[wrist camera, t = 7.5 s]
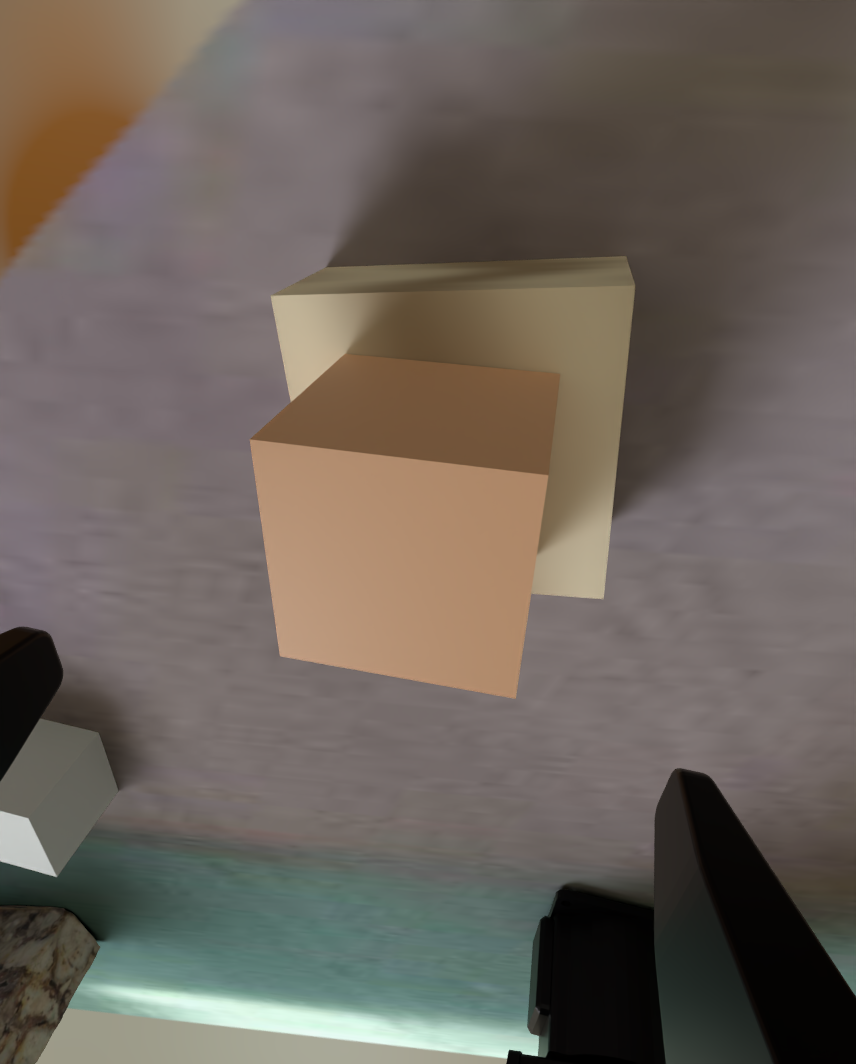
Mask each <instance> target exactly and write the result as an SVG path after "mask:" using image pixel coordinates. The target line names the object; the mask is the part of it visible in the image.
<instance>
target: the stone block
mask: <svg viewBox="0 0 856 1064" xmlns="http://www.w3.org/2000/svg"><path fill="white" fill-rule="evenodd" d="M99 949H100V946H99V945H98V944H97V942H96V940H95V939H94V937H93V936H92V935H91V934H90V933H89V932H88V931H87V930H86V928H85V927H84V926H83V925H82V924H81V923H80V921H79V920H78V919H77V917H76V916H75V915H74V914H73V913H71V912H68V911H66V910H65V909H64V908H57V907H36V906H17V905H14V906H0V1064H35V1063H36V1062H37V1060H38V1059H39V1057H40V1055H41V1053H42V1052H43V1050H44V1049H45V1047H46V1045H47V1043H48V1041H49V1039H50V1037H51V1036H52V1033H53V1032H54V1030H55V1029H56V1027H57V1026H58V1024H59V1023H60V1021H61V1019H62V1017H63V1014H64V1013H65V1011H66V1009H67V1007H68V1005H69V1002H70V1000H71V998H72V997H73V995H74V993H75V991H76V990H77V988H78V986H79V984H80V983H81V981H82V979H83V977H84V976H85V974H86V972H87V971H88V969H89V968H90V966H91V965H92V963H93V961H94V959H95V957H96V955H97V952H98V950H99Z"/></svg>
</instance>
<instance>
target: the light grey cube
mask: <svg viewBox="0 0 856 1064" xmlns="http://www.w3.org/2000/svg"><path fill="white" fill-rule="evenodd" d="M117 793H118V788H117V785H116V782H115V779H114V776H113V773H112V770H111V767H110V764H109V761H108V758H107V756H106V753H105V750H104V747H103V744H102V741H101V738H100V735H99V732H94V731H90V730H86V729H82V728H78V727H74V726H69V725H65V724H61V723H57V722H53V721H49V720H44V719H39V721H38V723H37V724H36V726H35V728H34V729H33V731H32V732H31V734H30V736H29V737H28V739H27V741H26V742H25V744H24V745H23V747H22V749H21V750H20V752H19V754H18V755H17V757H16V758H15V760H14V762H13V763H12V765H11V766H10V768H9V769H8V771H7V773H6V774H5V776H4V777H3V779H2V780H1V781H0V861H1V862H5V863H8V864H12V865H15V866H19V867H23V868H26V869H30V870H33V871H37V872H40V873H44V874H48V875H51V876H55V877H57V876H58V875H59V874H60V872H61V871H62V869H63V868H64V867H65V865H66V864H67V862H68V861H69V860H70V858H71V857H72V855H73V854H74V853H75V851H76V850H77V848H78V847H79V846H80V844H81V843H82V841H83V840H84V839H85V837H86V836H87V834H88V833H89V832H90V830H91V829H92V828H93V826H94V825H95V823H96V822H97V821H98V819H99V818H100V816H101V815H102V814H103V812H104V811H105V809H106V808H107V807H108V805H109V804H110V802H111V801H112V800H113V798H114V797H115V795H116V794H117Z"/></svg>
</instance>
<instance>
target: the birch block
mask: <svg viewBox="0 0 856 1064" xmlns="http://www.w3.org/2000/svg"><path fill="white" fill-rule="evenodd" d="M634 294H635V283H634V280H633V277H632V273H631V270H630V267H629V264H628V261H627V258H626V256H617V257H590V258H563V259H537V260H510V261H483V262H456V263H430V264H403V265H376V266H349V267H326V268H324V269H322V270H320V271H318V272H316V273H314V274H312V275H310V276H308V277H306V278H304V279H302V280H300V281H299V282H297V283H295V284H293V285H291V286H289V287H287V288H285V289H283V290H281V291H279V292H277V293H275V294H273V295H271V300H272V305H273V310H274V315H275V321H276V326H277V331H278V337H279V342H280V347H281V352H282V358H283V363H284V368H285V373H286V379H287V384H288V389H289V394H290V400H291V402H292V401H293V400H294V399H295V398H296V397H297V396H299V395H300V394H301V393H302V392H303V391H304V390H305V389H306V388H307V387H309V386H310V385H311V384H312V383H313V382H314V381H315V380H316V379H317V378H319V377H320V376H321V375H322V374H323V373H324V372H325V371H326V370H327V369H329V368H330V367H331V366H332V365H333V364H334V363H335V362H336V361H337V360H339V359H340V358H341V357H342V356H343V355H344V354H354V355H364V356H375V357H386V358H396V359H407V360H418V361H428V362H439V363H450V364H460V365H471V366H482V367H492V368H503V369H514V370H524V371H535V372H546V373H556V374H560V381H559V390H558V398H557V407H556V415H555V424H554V432H553V441H552V449H551V458H550V466H549V475H548V482H547V489H546V495H545V502H544V509H543V516H542V523H541V529H540V536H539V543H538V550H537V557H536V563H535V570H534V577H533V584H532V591H531V594H543V595H556V596H569V597H583V598H596V599H603V598H604V588H605V579H606V569H607V559H608V549H609V539H610V530H611V520H612V510H613V500H614V490H615V480H616V471H617V461H618V451H619V441H620V431H621V422H622V412H623V402H624V392H625V382H626V372H627V363H628V353H629V343H630V333H631V323H632V314H633V304H634Z"/></svg>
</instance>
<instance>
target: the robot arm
mask: <svg viewBox="0 0 856 1064" xmlns="http://www.w3.org/2000/svg"><path fill="white" fill-rule="evenodd" d="M62 679H63V668H62V665H61V662H60V659H59V656H58V654H57V651H56V648H55V645H54V642H53V640H52V637H51V636H50V634H48V633H47V632H46V631H43V630H38V629H34V628H29V627H17V628H14V629H11V630H9V631H7V632H4V633H2V634H0V781H1V780H2V779H3V777H4V776H5V774H6V773H7V771H8V769H9V768H10V766H11V765H12V763H13V762H14V760H15V758H16V757H17V755H18V754H19V752H20V750H21V749H22V747H23V745H24V744H25V742H26V741H27V739H28V737H29V736H30V734H31V732H32V731H33V729H34V728H35V726H36V724H37V723H38V721H39V719H40V718H41V716H42V715H43V713H44V711H45V710H46V708H47V706H48V705H49V703H50V701H51V700H52V698H53V697H54V695H55V693H56V692H57V690H58V688H59V687H60V685H61V682H62ZM527 1027H528V1029H529V1031H530V1033H531V1034H534V1035H537V1036H539V1049H538V1056H531V1055H524V1054H522V1052H521V1051H514V1050H509V1052H508V1058H507V1064H856V996H855V995H854V993H853V992H852V990H851V989H850V987H849V986H848V984H847V983H846V981H845V979H844V978H843V976H842V975H841V973H840V972H839V970H838V969H837V967H836V966H835V964H834V963H833V961H832V960H831V958H830V957H829V955H828V954H827V952H826V951H825V949H824V948H823V946H822V945H821V943H820V942H819V940H818V939H817V937H816V936H815V934H814V932H813V931H812V929H811V928H810V926H809V925H808V923H807V922H806V920H805V919H804V917H803V916H802V914H801V913H800V911H799V910H798V908H797V907H796V905H795V904H794V902H793V901H792V899H791V898H790V896H789V895H788V893H787V892H786V890H785V889H784V887H783V886H782V884H781V882H780V881H779V879H778V878H777V876H776V875H775V873H774V872H773V870H772V869H771V867H770V866H769V864H768V863H767V861H766V860H765V858H764V857H763V855H762V854H761V852H760V851H759V849H758V848H757V846H756V845H755V843H754V842H753V840H752V839H751V837H750V836H749V834H748V832H747V831H746V829H745V828H744V826H743V825H742V823H741V822H740V820H739V819H738V817H737V816H736V814H735V813H734V811H733V810H732V808H731V807H730V805H729V804H728V802H727V801H726V799H725V798H724V796H723V795H722V793H721V792H720V790H719V789H718V787H717V786H716V784H715V782H714V781H713V780H712V779H711V778H710V777H709V776H708V775H706V774H704V773H700V772H695V771H691V770H686V769H682V768H677V769H675V770H674V771H673V772H672V774H671V776H670V778H669V780H668V782H667V785H666V787H665V789H664V791H663V793H662V796H661V798H660V800H659V802H658V805H657V808H656V813H655V843H654V911H650V910H646V909H642V908H638V907H634V906H630V905H626V904H622V903H618V902H614V901H610V900H606V899H602V898H598V897H594V896H590V895H586V894H582V893H578V892H574V891H570V890H565V889H564V890H559V891H557V892H556V895H555V898H554V901H553V904H552V907H551V910H550V912H549V915H548V916H544V917H543V918H542V919H540V922H539V925H538V928H537V931H536V934H535V937H534V940H533V951H532V965H531V980H530V995H529V1010H528V1024H527Z"/></svg>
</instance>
